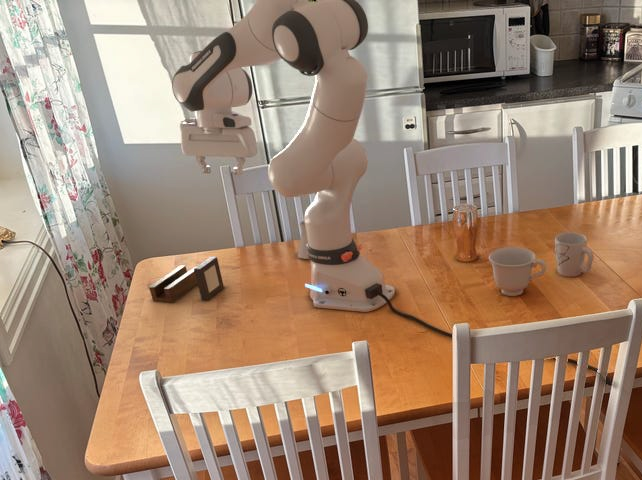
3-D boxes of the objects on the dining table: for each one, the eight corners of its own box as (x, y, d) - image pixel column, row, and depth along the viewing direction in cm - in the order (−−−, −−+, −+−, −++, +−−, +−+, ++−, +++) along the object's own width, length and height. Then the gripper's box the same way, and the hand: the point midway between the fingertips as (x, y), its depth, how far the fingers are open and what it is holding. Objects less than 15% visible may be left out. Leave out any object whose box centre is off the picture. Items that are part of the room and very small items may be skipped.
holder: (184, 278, 202) (180, 265, 200) (203, 280, 201) (199, 267, 199) (152, 300, 191) (148, 287, 189) (172, 302, 189) (168, 289, 187)
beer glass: (450, 260, 208) (448, 210, 200) (460, 251, 213) (458, 202, 205) (473, 264, 205) (471, 213, 197) (482, 254, 211) (481, 204, 203)
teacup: (538, 306, 182) (539, 269, 177) (482, 298, 187) (481, 262, 182) (551, 286, 192) (552, 250, 187) (498, 278, 197) (497, 244, 191)
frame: (218, 287, 197) (211, 256, 192) (224, 287, 196) (217, 256, 192) (201, 300, 190) (193, 268, 186) (207, 300, 190) (199, 269, 185)
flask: (316, 260, 210) (311, 227, 205) (293, 259, 212) (287, 226, 206) (326, 250, 216) (321, 218, 211) (303, 249, 218) (298, 217, 212)
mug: (600, 274, 197) (602, 240, 192) (581, 284, 192) (583, 249, 187) (566, 263, 204) (568, 229, 199) (547, 273, 199) (548, 238, 194)
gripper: (171, 119, 186) (180, 174, 191) (244, 121, 182) (251, 177, 187) (186, 117, 191) (194, 170, 197) (256, 118, 187) (263, 173, 193)
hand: (222, 174), depth 192 cm, fingers open, 8 cm apart
